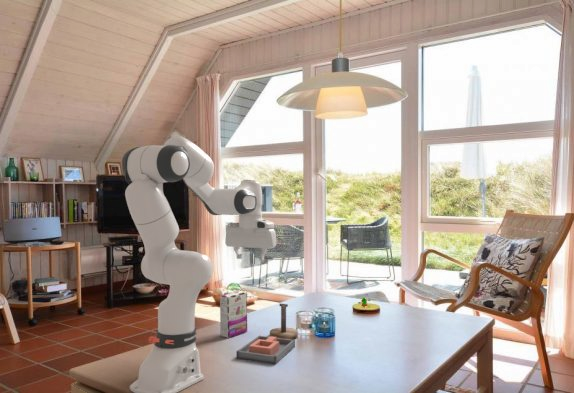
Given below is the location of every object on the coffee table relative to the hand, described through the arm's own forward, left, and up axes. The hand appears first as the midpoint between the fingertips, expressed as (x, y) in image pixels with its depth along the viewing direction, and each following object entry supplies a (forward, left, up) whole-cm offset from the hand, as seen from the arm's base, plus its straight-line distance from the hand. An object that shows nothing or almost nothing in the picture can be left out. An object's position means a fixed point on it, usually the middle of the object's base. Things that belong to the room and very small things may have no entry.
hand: (250, 259), depth 174 cm
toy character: (+63, -31, -32) cm, 77 cm away
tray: (-8, -10, -32) cm, 34 cm away
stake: (+11, -9, -32) cm, 35 cm away
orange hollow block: (-8, -10, -31) cm, 33 cm away
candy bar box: (+7, +11, -32) cm, 34 cm away
